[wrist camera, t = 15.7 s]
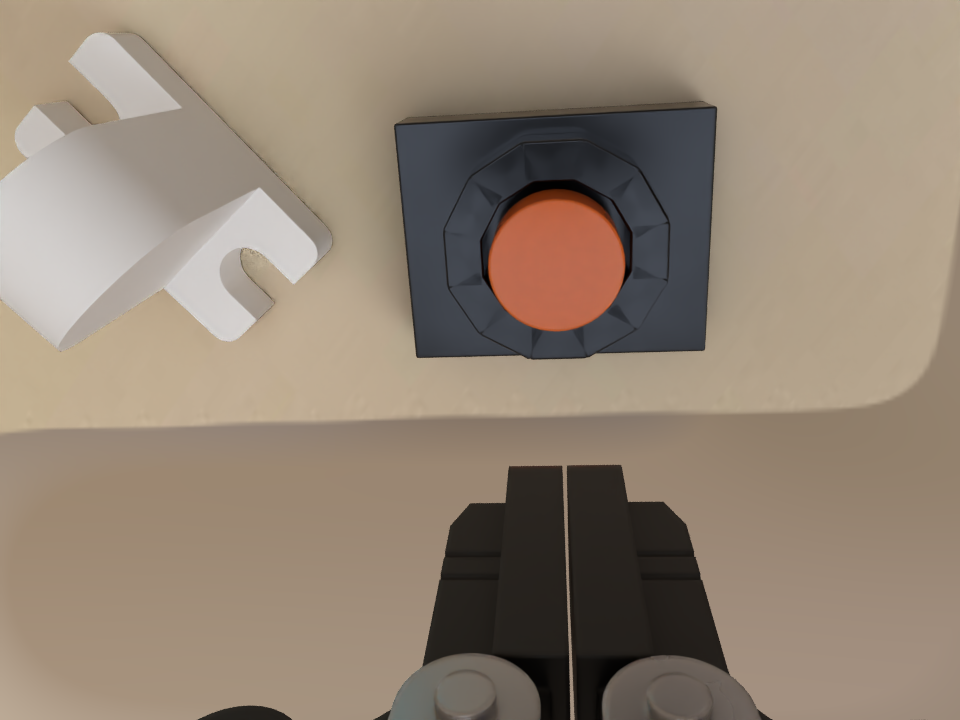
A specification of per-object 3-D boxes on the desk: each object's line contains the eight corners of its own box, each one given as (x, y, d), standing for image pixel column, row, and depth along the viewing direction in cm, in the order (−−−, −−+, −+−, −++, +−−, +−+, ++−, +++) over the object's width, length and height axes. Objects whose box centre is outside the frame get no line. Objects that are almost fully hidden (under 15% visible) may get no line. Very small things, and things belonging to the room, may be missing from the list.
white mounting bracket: (247, 329, 30) (115, 457, 21) (40, 133, 28) (-208, 180, 19) (339, 240, 29) (240, 335, 19) (128, 24, 26) (-99, 16, 17)
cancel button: (621, 185, 24) (626, 196, 22) (620, 311, 25) (625, 330, 23) (488, 191, 24) (483, 202, 22) (495, 315, 26) (491, 334, 24)
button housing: (704, 100, 26) (730, 111, 22) (694, 329, 29) (715, 372, 25) (405, 117, 27) (382, 129, 23) (425, 337, 30) (407, 378, 26)
